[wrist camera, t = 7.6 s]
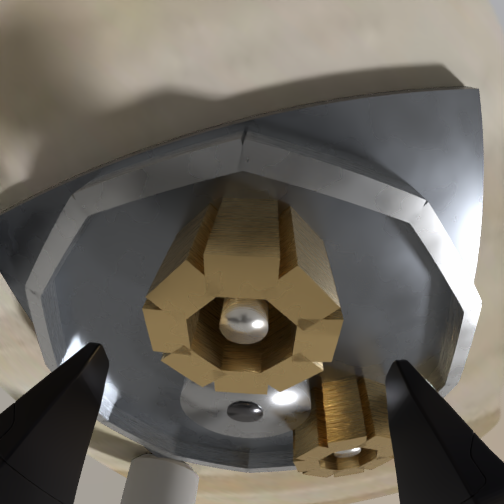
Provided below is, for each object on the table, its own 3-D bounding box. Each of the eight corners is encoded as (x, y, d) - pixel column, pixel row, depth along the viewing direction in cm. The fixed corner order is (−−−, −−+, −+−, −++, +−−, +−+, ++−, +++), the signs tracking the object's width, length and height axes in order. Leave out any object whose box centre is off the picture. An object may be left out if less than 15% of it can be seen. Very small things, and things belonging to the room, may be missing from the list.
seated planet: (286, 388, 18) (286, 448, 14) (390, 369, 17) (406, 426, 13) (301, 433, 21) (302, 481, 17) (385, 418, 20) (394, 465, 16)
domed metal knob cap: (169, 340, 16) (156, 380, 14) (297, 322, 15) (300, 366, 13) (212, 407, 19) (207, 442, 17) (315, 396, 18) (318, 434, 16)
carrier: (-13, 220, 14) (-61, 261, 10) (465, 86, 10) (537, 103, 6) (158, 448, 26) (149, 487, 22) (429, 418, 22) (441, 461, 18)
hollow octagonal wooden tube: (182, 319, 15) (163, 385, 12) (168, 196, 12) (129, 250, 9) (313, 326, 15) (320, 395, 12) (333, 203, 12) (358, 261, 8)
